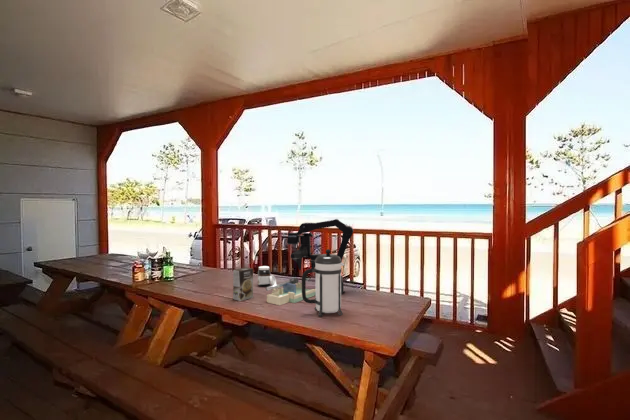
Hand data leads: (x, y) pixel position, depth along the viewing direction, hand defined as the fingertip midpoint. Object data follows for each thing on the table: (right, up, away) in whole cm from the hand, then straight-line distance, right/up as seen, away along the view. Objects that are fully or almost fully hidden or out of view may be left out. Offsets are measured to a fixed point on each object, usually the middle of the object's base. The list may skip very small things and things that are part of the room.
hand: (306, 270), depth 192 cm
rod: (-11, -10, -12) cm, 19 cm away
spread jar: (-25, -12, +15) cm, 32 cm away
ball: (-12, -11, -17) cm, 24 cm away
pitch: (-8, -12, -12) cm, 19 cm away
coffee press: (+10, -13, -38) cm, 41 cm away
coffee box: (-34, -13, -13) cm, 38 cm away
